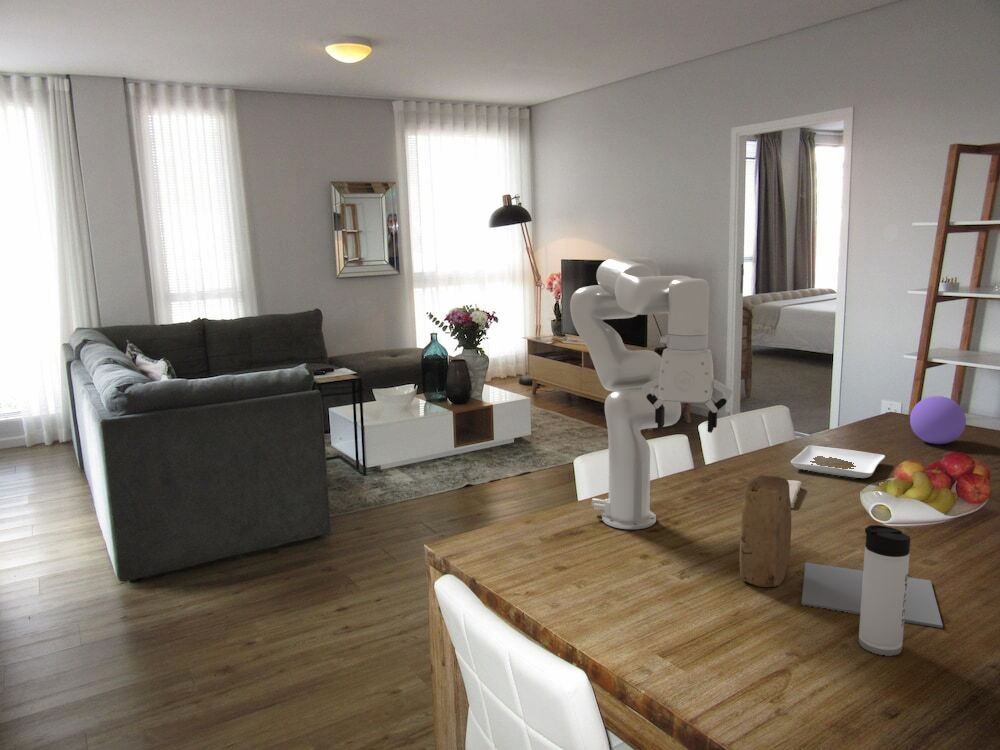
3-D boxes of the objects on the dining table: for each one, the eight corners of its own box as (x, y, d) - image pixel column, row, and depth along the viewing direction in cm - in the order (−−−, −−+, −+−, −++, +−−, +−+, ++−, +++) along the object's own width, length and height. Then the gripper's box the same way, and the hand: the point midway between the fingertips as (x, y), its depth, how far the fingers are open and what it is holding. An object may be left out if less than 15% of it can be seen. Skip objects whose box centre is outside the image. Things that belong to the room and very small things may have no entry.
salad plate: (807, 454, 226) (808, 443, 225) (885, 465, 213) (886, 453, 213) (788, 472, 209) (789, 461, 208) (871, 485, 196) (872, 473, 196)
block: (773, 593, 138) (778, 490, 134) (734, 582, 143) (738, 483, 139) (793, 573, 146) (798, 475, 143) (756, 563, 151) (760, 468, 147)
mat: (801, 604, 133) (801, 602, 133) (805, 564, 150) (805, 562, 150) (942, 628, 125) (942, 625, 125) (930, 582, 141) (930, 580, 141)
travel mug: (848, 637, 122) (856, 522, 119) (886, 634, 123) (895, 520, 119) (870, 658, 116) (879, 537, 113) (910, 655, 117) (920, 535, 113)
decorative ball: (959, 439, 236) (964, 393, 234) (967, 452, 223) (971, 403, 220) (906, 435, 243) (909, 390, 240) (910, 447, 229) (914, 399, 226)
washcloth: (802, 489, 195) (802, 478, 195) (794, 511, 180) (795, 499, 179) (755, 483, 201) (755, 472, 200) (743, 504, 185) (744, 493, 184)
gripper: (638, 344, 143) (637, 430, 146) (732, 347, 137) (728, 437, 140) (647, 338, 150) (645, 421, 153) (736, 341, 143) (733, 427, 146)
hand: (685, 428), depth 146 cm, fingers open, 9 cm apart
